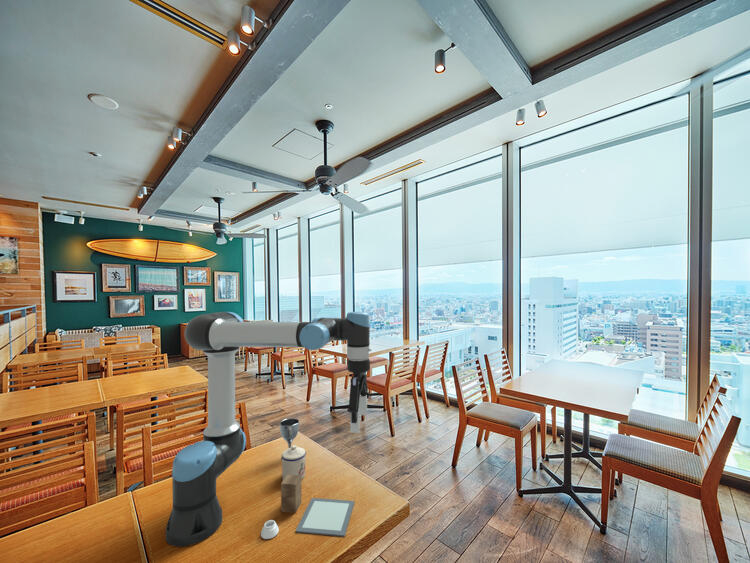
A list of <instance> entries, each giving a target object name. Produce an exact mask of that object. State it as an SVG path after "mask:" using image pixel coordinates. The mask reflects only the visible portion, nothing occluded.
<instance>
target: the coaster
mask: <svg viewBox="0 0 750 563" xmlns="http://www.w3.org/2000/svg"><path fill="white" fill-rule="evenodd" d="M354 505H355V500H346V499H333V498H321V497H320V498H319V497H318V498H317V497H311V499H310V501H309V503H308V504H307V507H306V509H305V510H304V512H303V514H302V516H301V519H300V520H299V523H298V524H297V527H296V528H295V533H299V534H311V535H323V536H334V537H335V536H336V537H346V533H347V530H348V526H349V523H350V520H351V519H350V518H351V517H352V516H351V515H352V512H353V509H354Z"/></svg>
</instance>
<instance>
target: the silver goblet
mask: <svg viewBox="0 0 750 563" xmlns="http://www.w3.org/2000/svg"><path fill="white" fill-rule="evenodd" d="M279 429H280V431H279V432H280V436H281V437H282V438H283V440H284V441H285V442H286V443H287V445H288V449H289V448H291V446H292V443H293V441H294V440H295V439H296V437H297V436H298V433H299V429H300V420H299V419H297V418H294V417H292V418H285V419H283V420H281V421H280V423H279ZM280 459H281V460H282V456H281V458H280Z"/></svg>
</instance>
